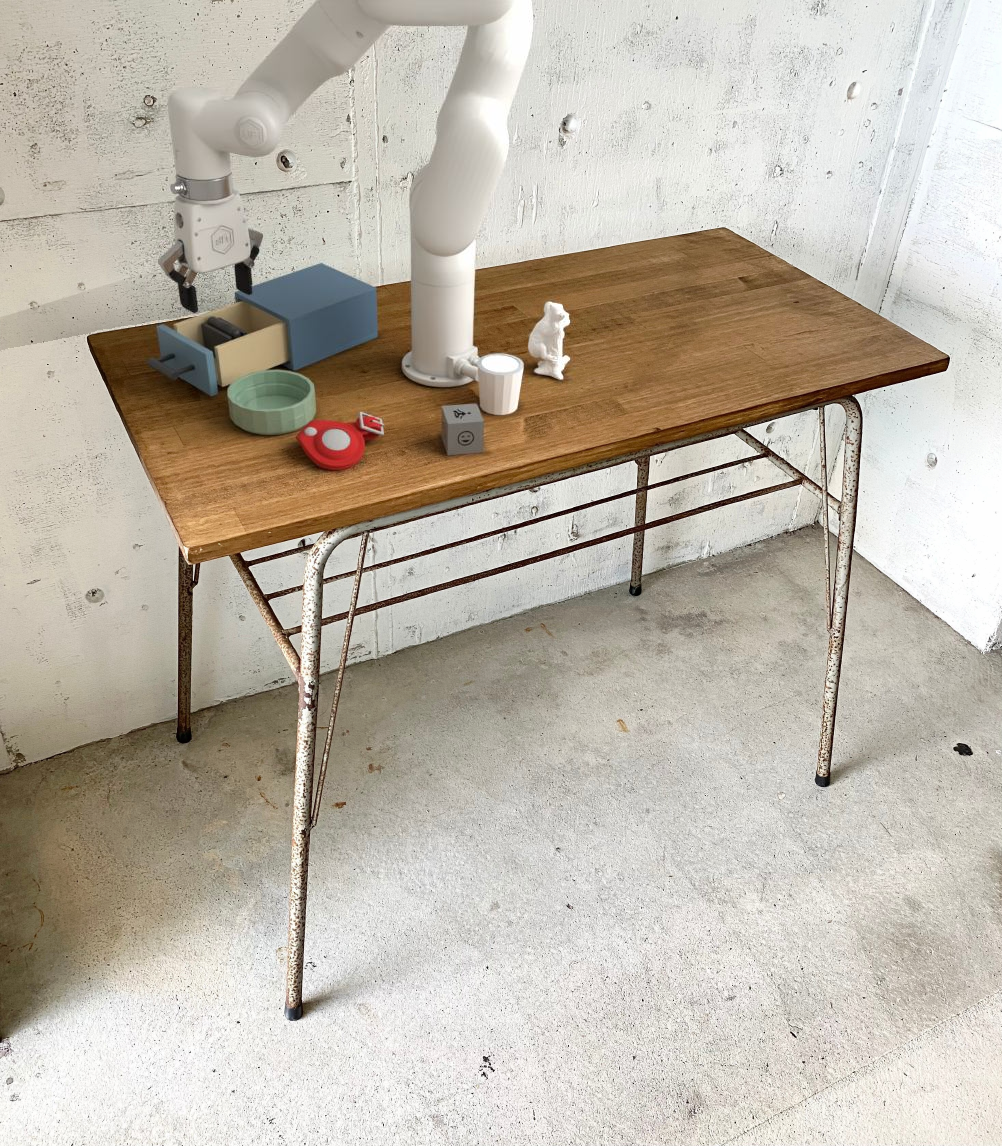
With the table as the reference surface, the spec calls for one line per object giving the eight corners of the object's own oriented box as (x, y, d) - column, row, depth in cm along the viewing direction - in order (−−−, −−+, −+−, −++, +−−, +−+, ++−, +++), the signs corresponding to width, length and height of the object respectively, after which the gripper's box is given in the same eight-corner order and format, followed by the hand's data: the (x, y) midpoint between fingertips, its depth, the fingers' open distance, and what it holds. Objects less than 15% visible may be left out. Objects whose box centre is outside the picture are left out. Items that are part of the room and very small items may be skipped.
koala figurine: (575, 383, 170) (582, 310, 163) (532, 384, 170) (537, 312, 162) (565, 358, 177) (571, 287, 170) (524, 359, 176) (528, 288, 169)
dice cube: (441, 436, 156) (441, 405, 153) (475, 434, 157) (476, 403, 154) (447, 455, 152) (448, 424, 149) (482, 452, 153) (484, 421, 150)
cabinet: (293, 371, 170) (289, 319, 165) (240, 342, 177) (234, 291, 172) (378, 337, 180) (376, 287, 175) (324, 310, 187) (321, 262, 182)
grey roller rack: (250, 360, 168) (247, 326, 164) (232, 367, 166) (228, 333, 162) (222, 345, 171) (218, 311, 168) (204, 351, 169) (199, 318, 166)
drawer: (186, 406, 158) (180, 363, 154) (138, 376, 165) (130, 334, 160) (299, 360, 171) (296, 320, 166) (250, 334, 177) (246, 295, 173)
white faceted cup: (493, 389, 168) (495, 348, 163) (530, 404, 165) (533, 361, 160) (466, 407, 163) (467, 364, 159) (504, 421, 160) (506, 379, 156)
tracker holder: (349, 471, 146) (284, 440, 147) (347, 492, 149) (283, 461, 151) (392, 414, 153) (329, 384, 154) (389, 435, 156) (328, 405, 157)
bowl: (333, 416, 159) (331, 390, 157) (266, 446, 152) (263, 420, 150) (280, 386, 166) (278, 361, 163) (213, 414, 158) (209, 388, 156)
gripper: (167, 205, 145) (183, 325, 156) (272, 179, 156) (280, 293, 166) (135, 190, 149) (152, 308, 160) (239, 165, 160) (249, 277, 170)
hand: (217, 300), depth 163 cm, fingers open, 9 cm apart
